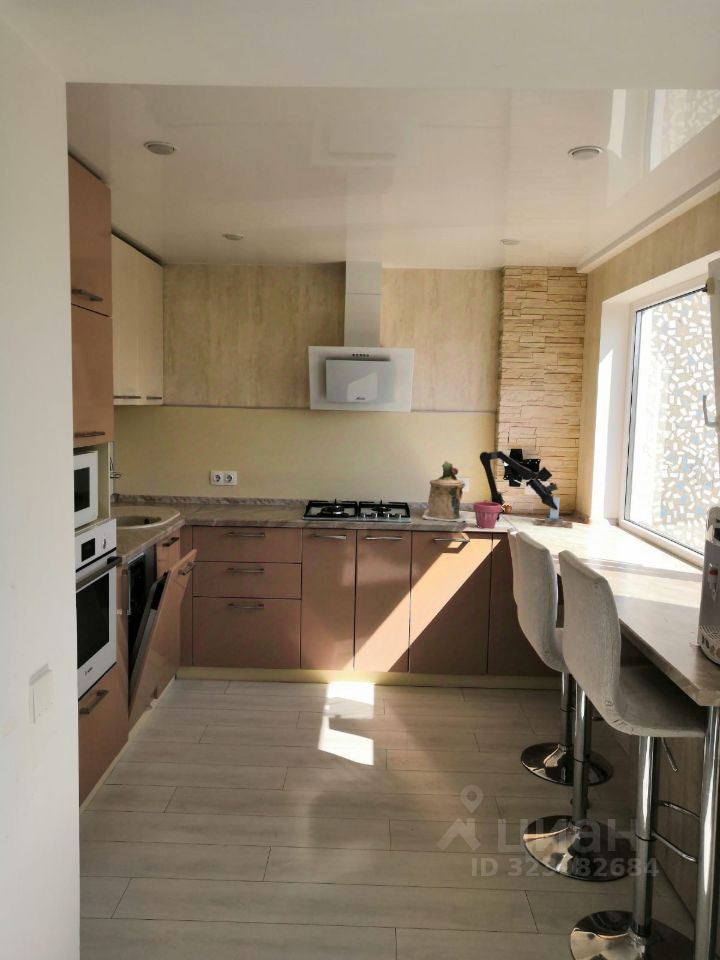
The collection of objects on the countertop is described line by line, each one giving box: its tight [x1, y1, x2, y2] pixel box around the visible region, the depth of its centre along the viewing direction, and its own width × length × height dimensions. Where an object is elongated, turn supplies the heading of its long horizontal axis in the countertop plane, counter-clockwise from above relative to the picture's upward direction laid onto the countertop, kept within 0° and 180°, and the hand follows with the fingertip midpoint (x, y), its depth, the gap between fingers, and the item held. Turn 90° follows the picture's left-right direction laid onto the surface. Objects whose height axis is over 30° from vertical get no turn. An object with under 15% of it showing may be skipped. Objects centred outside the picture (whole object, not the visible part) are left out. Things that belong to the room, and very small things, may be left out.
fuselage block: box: [549, 496, 561, 519], centre depth 414 cm, size 5×5×12 cm
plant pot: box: [472, 501, 501, 529], centre depth 397 cm, size 14×14×13 cm
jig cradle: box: [534, 514, 573, 529], centre depth 415 cm, size 20×13×4 cm, turn 76°
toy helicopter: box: [482, 490, 513, 514], centre depth 446 cm, size 8×21×14 cm, turn 122°
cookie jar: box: [421, 461, 468, 522], centre depth 420 cm, size 25×25×32 cm
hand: (557, 508), depth 414 cm, fingers closed on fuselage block, 4 cm apart
